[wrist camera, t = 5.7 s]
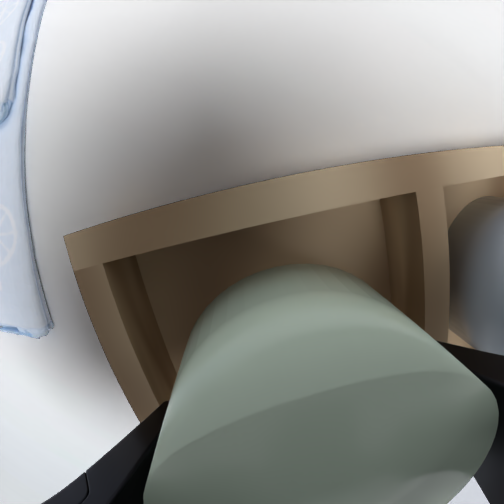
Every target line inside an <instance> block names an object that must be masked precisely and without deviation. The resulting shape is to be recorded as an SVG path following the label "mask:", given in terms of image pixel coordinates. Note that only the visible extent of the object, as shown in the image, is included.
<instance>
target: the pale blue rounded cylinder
mask: <svg viewBox="0 0 504 504" xmlns="http://www.w3.org/2000/svg"><path fill="white" fill-rule="evenodd" d="M448 243H449V265H450V307H449V328H448V329H450V330H451V331H452V332H453V333H455V334H456V335H457V336H459V337H460V338H461V339H463V340H464V341H465V342H466V343H468V344H469V345H470V346H472V347H473V348H474V349H476V350H480V351H485V352H489V353H494V354H499V355H503V356H504V197H496V196H483V197H480V198H477V199H475V200H474V201H472V202H470V203H469V204H468V205H467V206H465V207H464V208H463V209H462V210H461V212H460V213H459V214H458V215H457V217H456V218H455V219H454V221H453V222H452V224H451V226H450V227H449V229H448Z"/></svg>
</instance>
